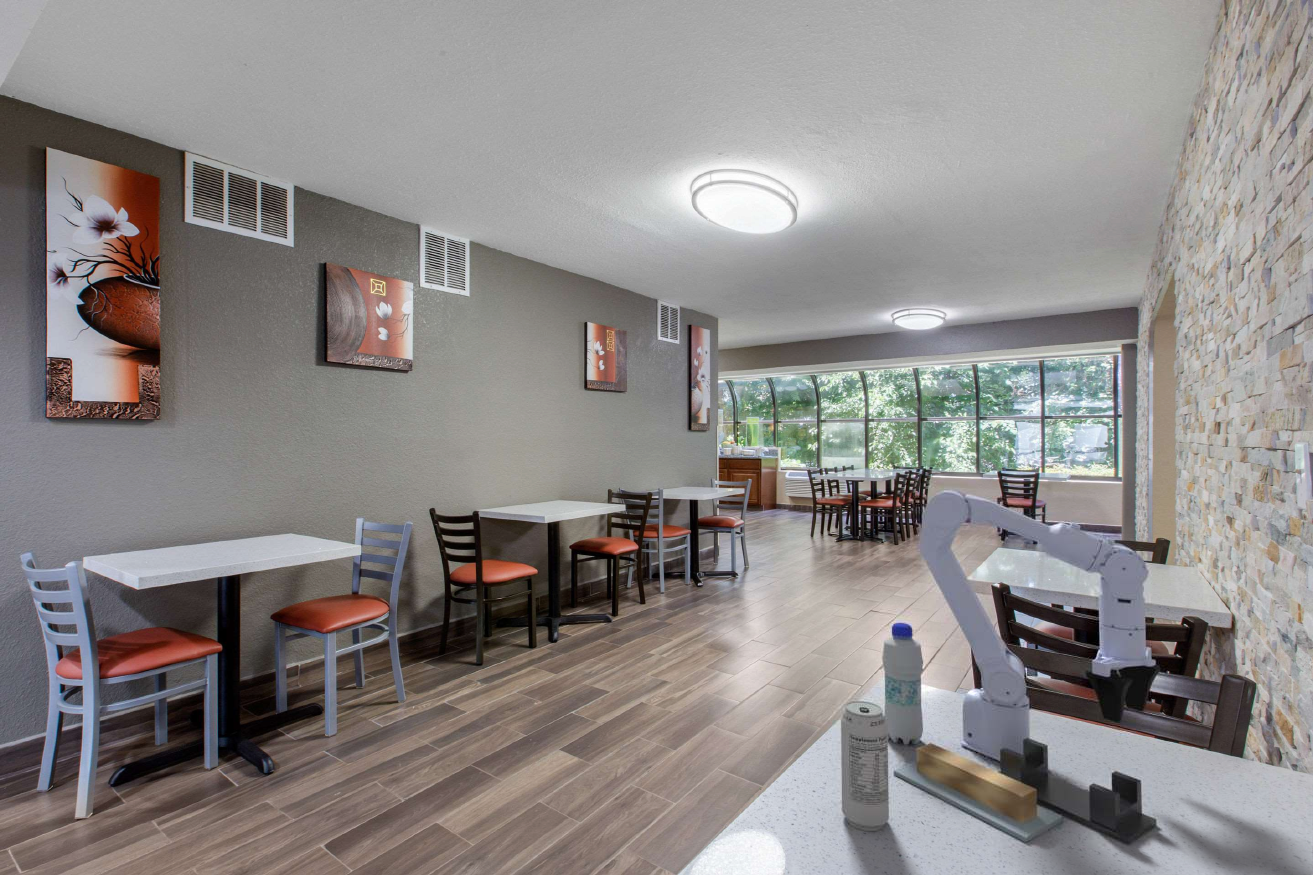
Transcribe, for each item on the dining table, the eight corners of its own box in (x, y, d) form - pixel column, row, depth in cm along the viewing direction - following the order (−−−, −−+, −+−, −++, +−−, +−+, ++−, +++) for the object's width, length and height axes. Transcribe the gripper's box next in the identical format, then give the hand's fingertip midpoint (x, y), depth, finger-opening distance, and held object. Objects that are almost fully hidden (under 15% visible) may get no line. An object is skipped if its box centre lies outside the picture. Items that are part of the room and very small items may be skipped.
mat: (893, 774, 97) (893, 770, 97) (930, 759, 101) (930, 755, 101) (1026, 842, 80) (1025, 837, 80) (1062, 820, 84) (1062, 816, 84)
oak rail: (916, 771, 96) (916, 748, 97) (931, 765, 98) (930, 742, 98) (1022, 823, 83) (1022, 796, 83) (1037, 815, 85) (1036, 789, 85)
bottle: (928, 749, 105) (926, 629, 105) (886, 746, 106) (884, 627, 107) (919, 732, 111) (918, 618, 112) (880, 729, 113) (878, 617, 113)
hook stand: (989, 781, 95) (989, 745, 95) (1019, 767, 99) (1018, 733, 99) (1128, 844, 79) (1127, 802, 79) (1156, 825, 83) (1155, 784, 83)
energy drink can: (884, 809, 87) (883, 700, 88) (892, 835, 81) (891, 718, 82) (839, 805, 88) (838, 697, 89) (844, 830, 82) (843, 715, 83)
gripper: (1130, 638, 89) (1132, 735, 89) (1173, 624, 97) (1176, 713, 96) (1076, 627, 95) (1078, 717, 95) (1121, 614, 103) (1123, 698, 102)
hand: (1124, 714), depth 96 cm, fingers open, 7 cm apart
